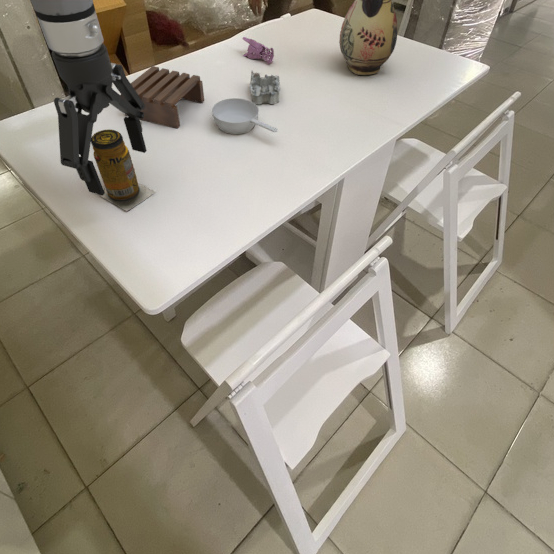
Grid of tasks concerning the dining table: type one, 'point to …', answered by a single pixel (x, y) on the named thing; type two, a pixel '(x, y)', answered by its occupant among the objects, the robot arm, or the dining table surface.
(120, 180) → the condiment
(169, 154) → the dining table surface
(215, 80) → the dining table surface
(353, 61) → the ceramic jug
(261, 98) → the egg carton
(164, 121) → the rack
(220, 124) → the saucepan
